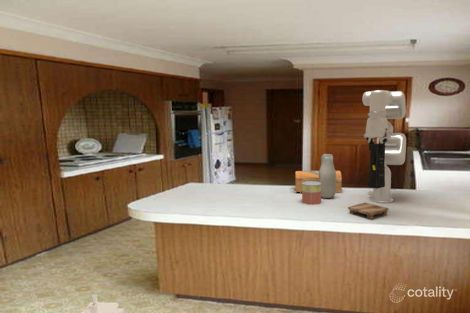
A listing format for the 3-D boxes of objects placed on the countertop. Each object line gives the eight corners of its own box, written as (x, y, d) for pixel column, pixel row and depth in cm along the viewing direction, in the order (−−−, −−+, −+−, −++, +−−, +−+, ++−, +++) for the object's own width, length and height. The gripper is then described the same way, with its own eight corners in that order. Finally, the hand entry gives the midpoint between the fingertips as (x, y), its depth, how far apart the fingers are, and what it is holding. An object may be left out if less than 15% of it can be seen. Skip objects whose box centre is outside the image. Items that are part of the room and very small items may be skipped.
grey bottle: (330, 195, 215) (330, 152, 211) (338, 199, 205) (338, 154, 201) (316, 196, 213) (316, 153, 209) (323, 200, 203) (323, 155, 199)
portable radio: (376, 189, 169) (378, 140, 165) (366, 187, 174) (367, 139, 170) (385, 187, 173) (387, 139, 170) (375, 185, 178) (377, 138, 175)
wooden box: (338, 188, 235) (338, 168, 233) (342, 193, 218) (342, 173, 217) (295, 187, 240) (295, 168, 238) (295, 193, 223) (295, 173, 221)
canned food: (314, 199, 207) (314, 180, 205) (324, 204, 196) (325, 184, 195) (298, 201, 204) (298, 182, 202) (308, 206, 193) (307, 186, 191)
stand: (348, 213, 177) (348, 206, 177) (365, 208, 185) (365, 202, 184) (371, 220, 165) (371, 213, 165) (388, 214, 173) (388, 208, 172)
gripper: (358, 115, 174) (357, 150, 176) (389, 115, 160) (387, 152, 162) (367, 115, 178) (366, 149, 180) (397, 114, 164) (396, 151, 166)
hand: (376, 150), depth 171 cm, fingers closed on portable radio, 5 cm apart
